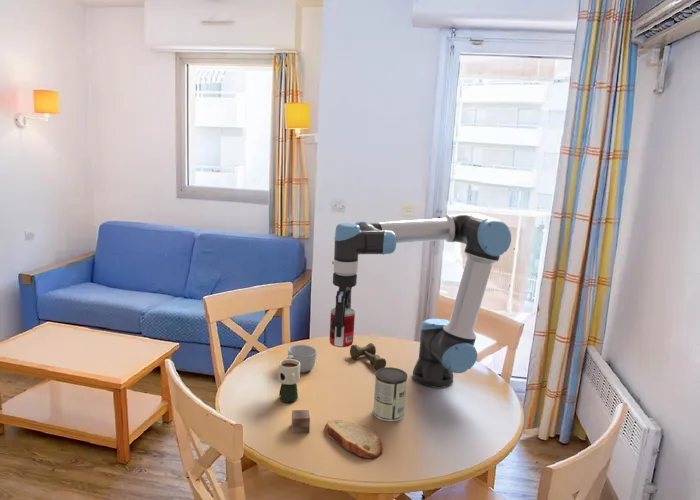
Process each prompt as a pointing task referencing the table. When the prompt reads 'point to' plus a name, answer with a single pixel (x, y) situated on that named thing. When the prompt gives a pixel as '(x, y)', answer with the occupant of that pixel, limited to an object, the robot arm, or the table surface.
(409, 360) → the table surface
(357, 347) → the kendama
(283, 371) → the character mug
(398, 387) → the coffee can
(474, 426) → the table surface
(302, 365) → the teacup
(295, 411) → the metal block
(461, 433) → the table surface
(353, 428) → the slice of bread
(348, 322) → the canned food
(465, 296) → the robot arm
